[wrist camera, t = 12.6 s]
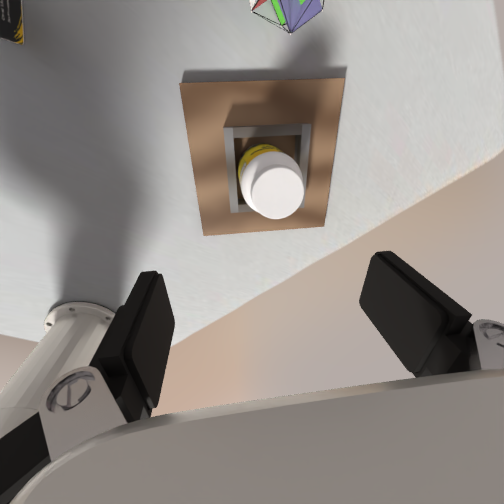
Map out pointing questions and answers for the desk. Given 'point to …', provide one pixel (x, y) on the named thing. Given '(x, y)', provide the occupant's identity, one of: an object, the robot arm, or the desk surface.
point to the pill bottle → (270, 181)
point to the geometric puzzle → (292, 11)
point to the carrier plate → (254, 132)
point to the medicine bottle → (11, 21)
